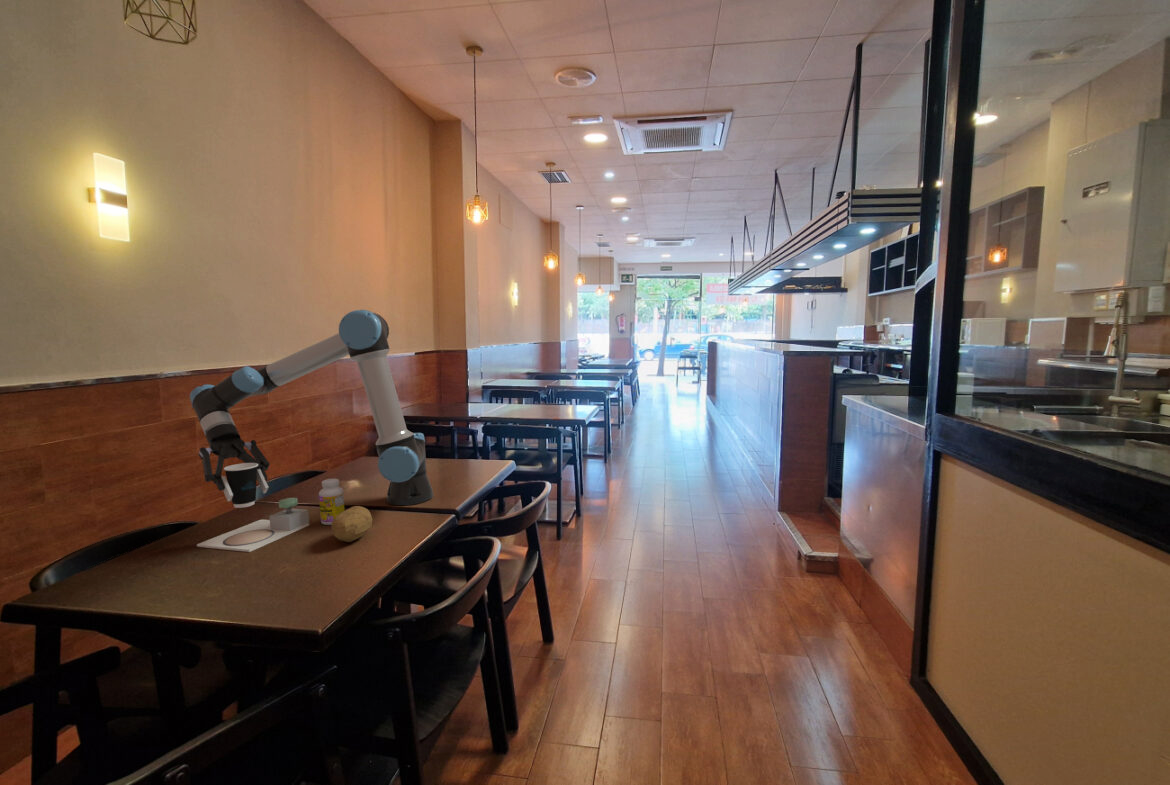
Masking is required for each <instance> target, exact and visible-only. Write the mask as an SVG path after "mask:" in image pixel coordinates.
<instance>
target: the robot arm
mask: <svg viewBox="0 0 1170 785" xmlns="http://www.w3.org/2000/svg"><path fill="white" fill-rule="evenodd" d="M389 335H390V328H389V324H388V322H387V321H386V319H385V318H383V316H382V315H380V314H378V313H376V312H372V311H370V310H367V309H358V310H357V309H356V310H352V311H349V312H348V313H346V314H345V315H343V317H342V318H341V320H340V322H339V324H338V333H337V334H334V335H332V336H330V337H328V338H326V339H323V340H321V341H319V342H317V343H314V344H312V345H310V346H307V347H305V348H303V349H301V350H298V351H297V352H294V353H292V354H289V355H288V356H285V357H283V358H281V359H279V360H276V361H275V362H272V363H270V364H268V365H266V366H263V367H261V368H258V369H257V370H256V369H255V368H253V367H251V366H246V365H245V366H242V367H241V368H240V369H238V370H236V371H234V372H233V373H231V375H229V376H228V377H226V378H224V379H223V380H222V381H220V382H219V383H218V384H216V385H213V384H203V385H202V386H197V387H195V388H193V389H192V390H191V392H190V394H189V398H190V399H189V400H190V402H191V407H192V409H193V410H194V412H195V414H196V417H197V418H198V419H197V420H198V421H199V424H200V427H201V428H202V431H203V433H204V435H205V438H206V441H207V443H208V445H209V447H203V446H202V447H200V448H199V452H198V456H199V458H200V459H201V461H202V469H203V475H204V480H205V482H207V483H209V482H213V484H215V485H216V487H217V489H218V491H220V492H221V491H222V492H223V493H224V496H225V498H226V501H227V502H232V497H233V493H232V491H231V489H230V486H229V484H228V482H227V477H226V475H222V472H223V469H224V467H223V466H224V461H225V460H227V459H230V458H236V459H238V460H241V461H242V462H243V463H257V464H258V466H257V483H258V485H259V488H260V490H261V492H262V494H266V493H267V491H268V489H269V485H268V483H267V480H268V475H267V473H266V472H267V471H268V469H269V468H270V462H269V460H268V459H267V458H266V457H265V455H264V454H263V452H262V451H261V449H260V448H259V447H258V445H257V441H256V440H255V439H252V440H251V441H244V440H243V439H242V438H241V435H240V432H239V431H238V429H237V426H236V424H235V421H234V419H233V417H232V415H231V413H230V411H229V410H230V409H231V408H233V407H235V406H236V405H238V404H239V403H240V402H242V401H243V400H245V399H247V398H251V397H255V396H260V395H261V396H263V395H266V394H269V393H271V392H273V391H274V390H275V389H277V388H279V387H281V386H283V385H285V384H288V383H289V382H290V383H291V382H293V381H294V380H296V379H297V380H298V379H299V378H301V377H303V376H305V375H308V374H309V373H312V372H315V371H316V370H319V369H320V368H323V367H325V366H327V365H330V364H331V363H334V362H336V361H338V360H341V359H343V358H344V357H347V356H349V357H350V358H349V359H351V360H352V361H354V362H356V363H357V366H358V369H359V373H360V376H361V380H362V384H363V386H364V391H365V394H366V397H367V401H368V404H369V408H370V411H371V415H372V417H373V422H374V426H375V428H376V432H377V436H378V438H377V440H376V442H375V447H376V451H377V454H378V462H377V467H378V472H379V473H380V474H381V476H382V477H383V478H384V479H386V480H387V481H389V486H388V489H387V493H386V503H387V504H389V505H392V506H409V505H416V504H421V503H424V502H427V501H429V500H431V499H433V497H434V491H433V487H432V485H431V482H430V480H429V477H428V474H427V457H426V440H425V435H424V433H422V432H412V431H410V430H408V428H407V424H406V422H405V418H404V415H403V410H402V407H401V403H400V400H399V396H398V392H397V390H396V386H395V382H394V379H393V374H392V371H391V368H390V365H389V361H388V358H387V356H388V354H389V352H390V350H391V349H390V346H389V341H388V338H389ZM245 448H246V449H247V450H248V451H249V452H250V453H248V452H247V450H246V449H245ZM211 453H212V454H214V455H216V456H217V462H216V468H215V473H213V470H212V464H211V456H210V455H211ZM250 454H251V455H250Z"/></svg>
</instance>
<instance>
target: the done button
mask: <svg viewBox="0 0 1170 785" xmlns="http://www.w3.org/2000/svg"><path fill="white" fill-rule="evenodd" d="M295 506H298V497H287V498H283V499H280V500H278V508H280V509H285V510H286V514H291V513H292V509H293V508H294V507H295Z"/></svg>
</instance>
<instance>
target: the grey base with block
mask: <svg viewBox="0 0 1170 785" xmlns="http://www.w3.org/2000/svg"><path fill="white" fill-rule="evenodd" d="M308 526H309V527H310V517H309V509H305V508H304V509H302V508H292V513H291V514H286V509H284V510H281V511H278V512H276V513H274V514H271V515H269V519H262V518H261V519H259V520H256V521H253V522H250V523H249V524H245V525H244V526H240V527H238V528H236V529H233V530H230V531H228V532H226V533H222V534H219V535H217V536H214V537H212V538H209V539H207V540H204V541H202V542H200V543H197V544H196V547H198V548H207V549H217V550H227V551H237V552H246V553H250V552H253V551H256V550H257V549H259V548H260V549H261V548H262V547H264V546H267V545H269V544H270V543H273V542H276V541H277V540H280V539H282V538H284V537H286V536H288V535H291V534H293V533H295V532H297V531H301V530H302V529H304V528H307V527H308Z"/></svg>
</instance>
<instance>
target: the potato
mask: <svg viewBox="0 0 1170 785" xmlns="http://www.w3.org/2000/svg"><path fill="white" fill-rule="evenodd" d="M372 524H373V517H372V513H371V512H370V510H369V509H368V508H366V507H364V506H360V505H355V506H351V507H349V508H348V509H346V510H345V511H344V512H342V513H340V514H338V515H337V516H336V517H335V518H334V520H333V522H332V525H330V526H331V532H332V534H333V535H334V536H333V537H335V538H336V539H338V540H339V541H342V542H346V543H352V542H353V541H356V540H358V539H359V538H361V537H363V536H364V535H365V534H366V533H367V532H368V531H369V530H370V529H371V527H372Z"/></svg>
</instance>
